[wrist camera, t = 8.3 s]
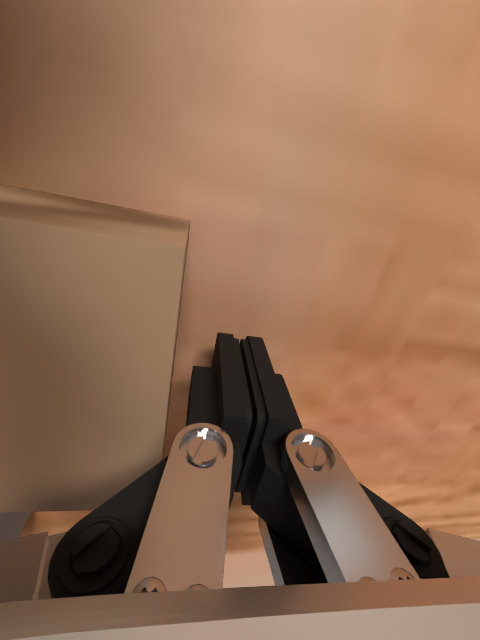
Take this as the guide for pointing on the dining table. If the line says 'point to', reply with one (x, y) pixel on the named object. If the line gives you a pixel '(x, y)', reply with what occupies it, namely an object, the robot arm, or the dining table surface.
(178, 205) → the dining table surface
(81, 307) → the walnut block
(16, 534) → the board
